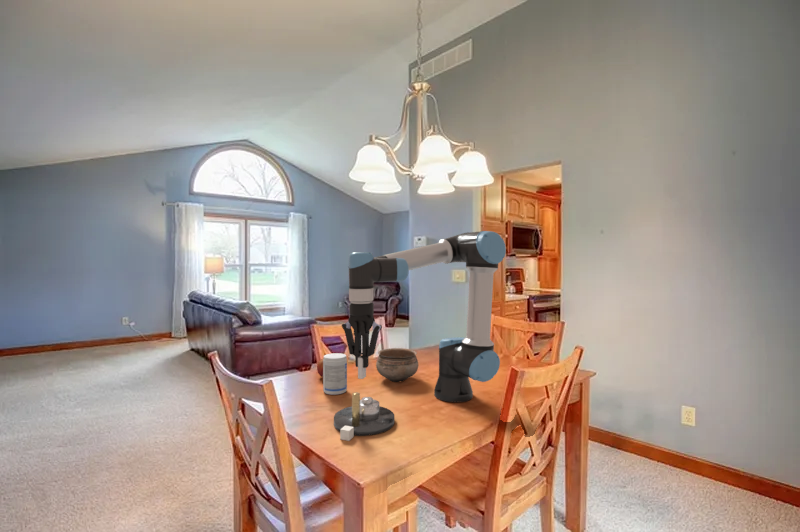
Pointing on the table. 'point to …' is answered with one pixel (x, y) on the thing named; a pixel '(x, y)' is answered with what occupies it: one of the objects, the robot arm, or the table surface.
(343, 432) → the white cube
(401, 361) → the cooking pot
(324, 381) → the supplement tub
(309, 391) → the table surface
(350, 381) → the table surface
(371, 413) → the cover
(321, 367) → the fruit
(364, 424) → the turntable
